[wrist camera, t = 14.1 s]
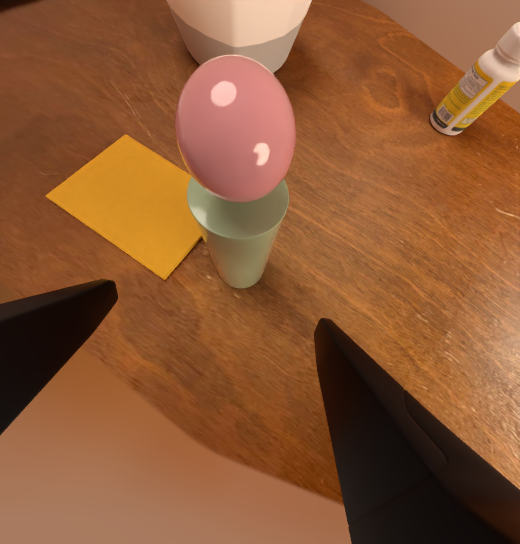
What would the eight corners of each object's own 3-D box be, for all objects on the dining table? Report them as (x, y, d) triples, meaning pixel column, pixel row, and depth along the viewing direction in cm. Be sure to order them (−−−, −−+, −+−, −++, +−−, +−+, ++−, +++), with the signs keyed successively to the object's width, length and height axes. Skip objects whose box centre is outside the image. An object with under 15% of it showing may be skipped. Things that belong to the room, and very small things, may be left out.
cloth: (231, 203, 19) (231, 200, 19) (165, 280, 17) (163, 279, 16) (127, 137, 21) (125, 133, 20) (49, 198, 18) (44, 196, 17)
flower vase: (273, 264, 18) (366, 74, 4) (242, 298, 17) (243, 181, 3) (239, 235, 18) (231, -11, 5) (207, 267, 17) (82, 55, 4)
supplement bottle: (463, 120, 27) (557, 31, 19) (458, 141, 25) (558, 55, 17) (431, 106, 27) (511, 13, 19) (425, 127, 26) (508, 35, 18)
